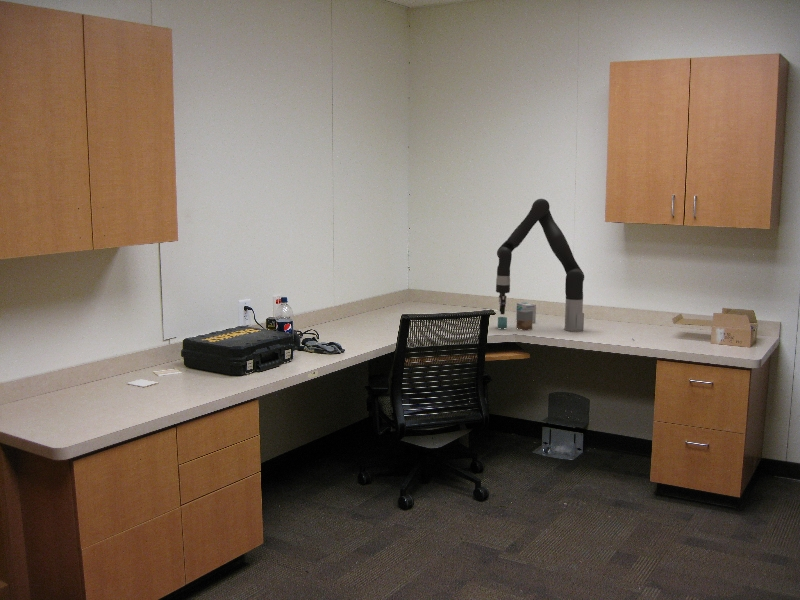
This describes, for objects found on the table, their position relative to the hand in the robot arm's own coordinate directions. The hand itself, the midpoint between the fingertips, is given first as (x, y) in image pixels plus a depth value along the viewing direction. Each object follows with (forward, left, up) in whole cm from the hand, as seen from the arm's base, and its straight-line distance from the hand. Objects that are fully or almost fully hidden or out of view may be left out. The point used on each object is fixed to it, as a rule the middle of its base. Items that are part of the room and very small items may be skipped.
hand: (502, 313), depth 443 cm
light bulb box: (+4, -25, -9) cm, 27 cm away
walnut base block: (-10, -8, -9) cm, 15 cm away
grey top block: (-10, -8, -4) cm, 13 cm away
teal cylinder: (0, 0, -9) cm, 9 cm away
